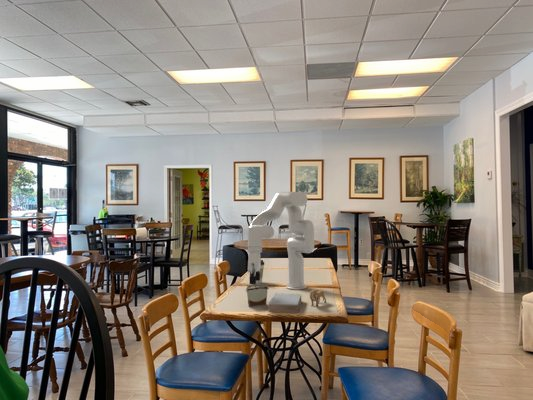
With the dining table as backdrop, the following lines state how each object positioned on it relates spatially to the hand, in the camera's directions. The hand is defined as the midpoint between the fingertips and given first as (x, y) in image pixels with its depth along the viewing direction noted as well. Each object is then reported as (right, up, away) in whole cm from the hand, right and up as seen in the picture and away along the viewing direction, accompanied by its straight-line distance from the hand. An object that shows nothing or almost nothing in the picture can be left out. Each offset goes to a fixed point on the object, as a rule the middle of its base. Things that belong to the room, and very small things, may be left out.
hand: (254, 282), depth 181 cm
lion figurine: (+33, -12, -2) cm, 35 cm away
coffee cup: (-1, -13, +51) cm, 53 cm away
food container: (0, -12, 0) cm, 12 cm away
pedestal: (+16, -11, -4) cm, 20 cm away
